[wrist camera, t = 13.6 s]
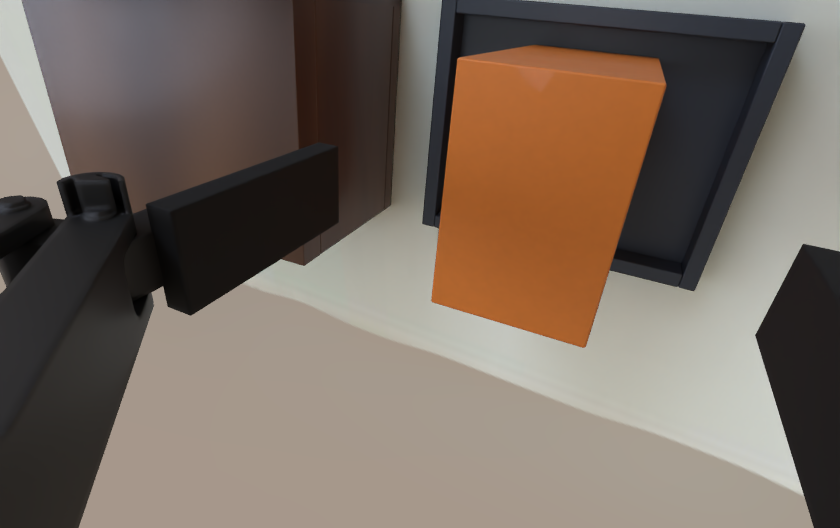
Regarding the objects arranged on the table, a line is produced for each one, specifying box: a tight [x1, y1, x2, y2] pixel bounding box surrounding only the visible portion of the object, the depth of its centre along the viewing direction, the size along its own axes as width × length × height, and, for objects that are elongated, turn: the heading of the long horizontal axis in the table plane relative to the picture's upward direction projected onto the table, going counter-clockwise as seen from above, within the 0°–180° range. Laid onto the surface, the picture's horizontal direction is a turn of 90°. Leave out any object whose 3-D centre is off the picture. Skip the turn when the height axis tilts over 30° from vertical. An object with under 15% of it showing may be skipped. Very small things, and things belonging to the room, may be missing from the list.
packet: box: [431, 45, 666, 348], centre depth 21 cm, size 6×9×12 cm, turn 175°
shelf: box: [22, 0, 401, 266], centre depth 24 cm, size 17×13×20 cm
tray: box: [422, 0, 805, 291], centre depth 25 cm, size 16×13×2 cm
